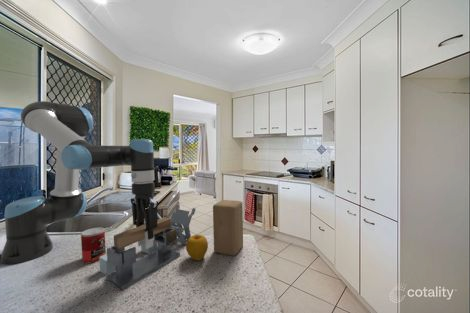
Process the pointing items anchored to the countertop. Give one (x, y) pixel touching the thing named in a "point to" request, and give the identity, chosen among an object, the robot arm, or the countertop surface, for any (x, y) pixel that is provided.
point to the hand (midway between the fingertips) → (145, 245)
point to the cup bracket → (140, 260)
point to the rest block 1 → (106, 265)
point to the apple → (197, 247)
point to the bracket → (180, 220)
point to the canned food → (93, 244)
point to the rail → (139, 233)
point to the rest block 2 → (149, 248)
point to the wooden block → (228, 227)
